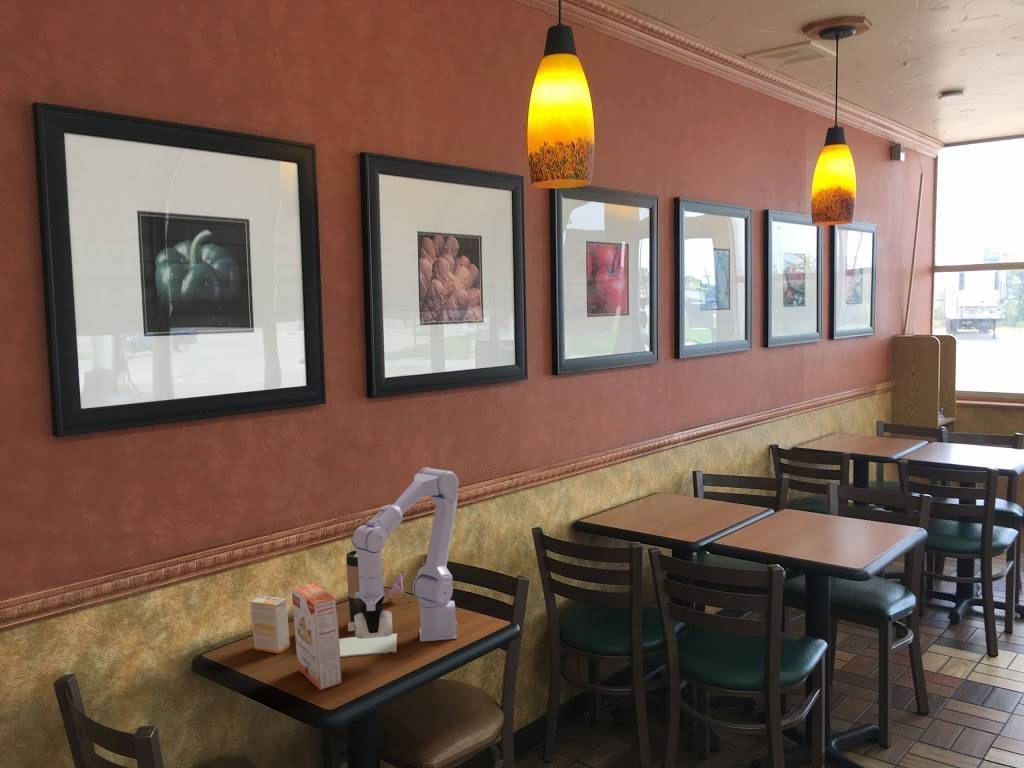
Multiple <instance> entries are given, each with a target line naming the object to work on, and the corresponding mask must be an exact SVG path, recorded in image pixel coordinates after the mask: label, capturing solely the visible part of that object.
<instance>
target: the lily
mask: <svg viewBox="0 0 1024 768" xmlns="http://www.w3.org/2000/svg"><path fill="white" fill-rule="evenodd" d="M408 572H409V569H407V570H406V571H405V573H404V574H403V575H402V572H400V573H399V575H397V577H396V578H395V580H394V582H393V583H391V586H393V587H392V588H391V589H390V591H389V592H388V594H386V596H384V600H383V602H382V604H383V603H384V602H385V600H386V599H387V598H388V597H390V598H391V599H392V597H393V596H394V595H395V594H399V593H403V594H404V595H405V597H406V598H407V599H408V601H409V602H410V603H412V600H411V599H410V597H409V596H408V595H407V594H406V592H405V591H404V588H403V582H404V577H405V576H406V574H407V573H408Z"/></svg>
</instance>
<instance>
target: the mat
mask: <svg viewBox="0 0 1024 768" xmlns="http://www.w3.org/2000/svg"><path fill="white" fill-rule="evenodd" d="M397 638H398V633H397V632H396V633H393V634H392V635H390V636H386V637H376V638H365V639H359V638H356V636H354V637H344V638H340V637H339V646H340V658H347V657H349V658H350V657H357V656H358V657H359V656H370V655H381V653H382V654H390V653H389V652H392V653H397V646H398V645H397V644H398V643H397V641H398V639H397Z"/></svg>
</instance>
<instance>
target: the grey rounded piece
mask: <svg viewBox="0 0 1024 768" xmlns="http://www.w3.org/2000/svg"><path fill="white" fill-rule="evenodd" d="M392 614H393V612H392V611H390V610H382V612H381V615H380V620H379V629H378V633H369V631H368V628H367V624H366V620H365V618H364V615H363V614H362V613H359V614H356V615H355V616H354V618H355V622H351V621H350V622H348V625H347V632H353V631H355V632H354V633H355V637H356V638H359V639H365V638H376V637H386V636H390V635H392V634H394V632H393V631H394V629H393V615H392Z"/></svg>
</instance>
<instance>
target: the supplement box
mask: <svg viewBox="0 0 1024 768" xmlns="http://www.w3.org/2000/svg"><path fill="white" fill-rule="evenodd" d="M249 603H250V611H251V612H250V613H251V625H252V636H253V637H252V639H253V649H254V650H255V649H257V650H256V651H260V650H263V651H262V652H266V651H267V652H268V653H272V654H273V653H274V654H277V655H278V654H280V653H282V652H284V651H286V650H287V649H289V648H290V647H291V642H290V632H289V631H290V630H289V620H288V619H289V618H288V608H287V607H288V605H287V604H288V603H287V598H282V597H276V596H268V595H260V596H258V597H256V598H254V599H253V600H250V602H249Z"/></svg>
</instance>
